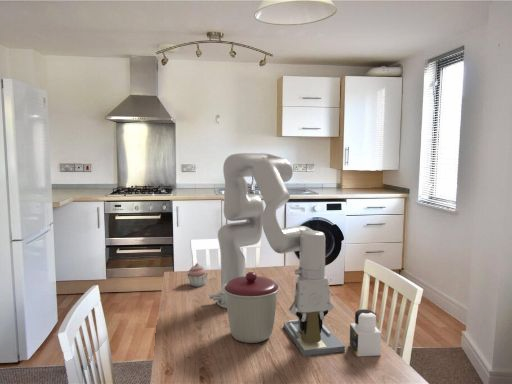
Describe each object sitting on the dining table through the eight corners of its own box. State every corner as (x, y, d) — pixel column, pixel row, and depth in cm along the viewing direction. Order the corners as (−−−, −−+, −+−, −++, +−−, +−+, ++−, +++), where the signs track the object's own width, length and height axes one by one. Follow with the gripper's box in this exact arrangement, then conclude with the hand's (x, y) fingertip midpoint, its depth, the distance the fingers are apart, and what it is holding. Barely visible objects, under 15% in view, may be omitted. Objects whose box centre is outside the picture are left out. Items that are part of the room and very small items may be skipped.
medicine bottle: (349, 345, 124) (350, 307, 123) (371, 344, 125) (373, 306, 123) (357, 357, 117) (358, 317, 116) (380, 356, 117) (382, 316, 116)
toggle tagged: (302, 336, 126) (302, 321, 125) (298, 331, 129) (298, 316, 129) (311, 335, 126) (311, 320, 126) (307, 330, 130) (307, 315, 130)
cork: (300, 342, 120) (300, 306, 119) (301, 333, 126) (302, 298, 124) (320, 344, 118) (321, 308, 117) (321, 334, 124) (322, 300, 123)
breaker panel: (303, 356, 118) (303, 348, 117) (283, 326, 137) (283, 320, 137) (344, 351, 120) (344, 343, 120) (319, 323, 140) (319, 316, 140)
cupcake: (184, 283, 182) (184, 261, 181) (204, 280, 186) (204, 259, 185) (190, 289, 174) (189, 267, 173) (210, 286, 178) (210, 264, 177)
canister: (216, 329, 135) (215, 267, 133) (266, 320, 142) (266, 262, 140) (234, 354, 119) (233, 284, 116) (289, 343, 125) (289, 277, 123)
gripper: (289, 278, 114) (288, 340, 116) (343, 274, 118) (342, 334, 120) (281, 270, 122) (281, 328, 124) (333, 267, 125) (331, 323, 127)
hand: (311, 330), depth 122 cm, fingers closed on cork, 3 cm apart
